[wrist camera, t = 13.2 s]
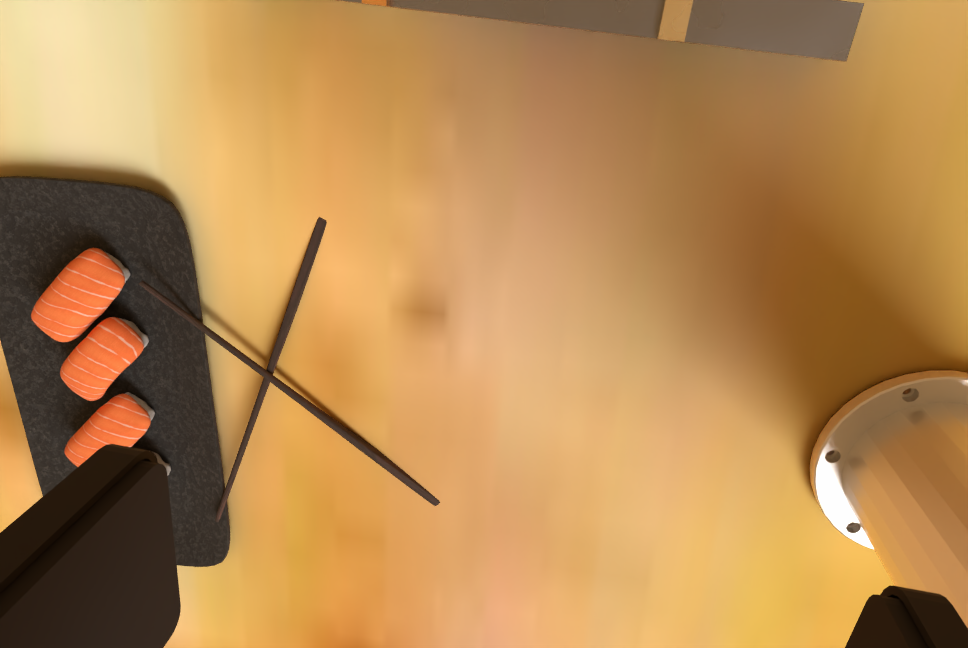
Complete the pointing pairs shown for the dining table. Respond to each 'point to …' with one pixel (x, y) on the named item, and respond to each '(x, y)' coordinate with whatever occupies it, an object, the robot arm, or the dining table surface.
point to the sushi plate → (125, 345)
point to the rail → (680, 20)
